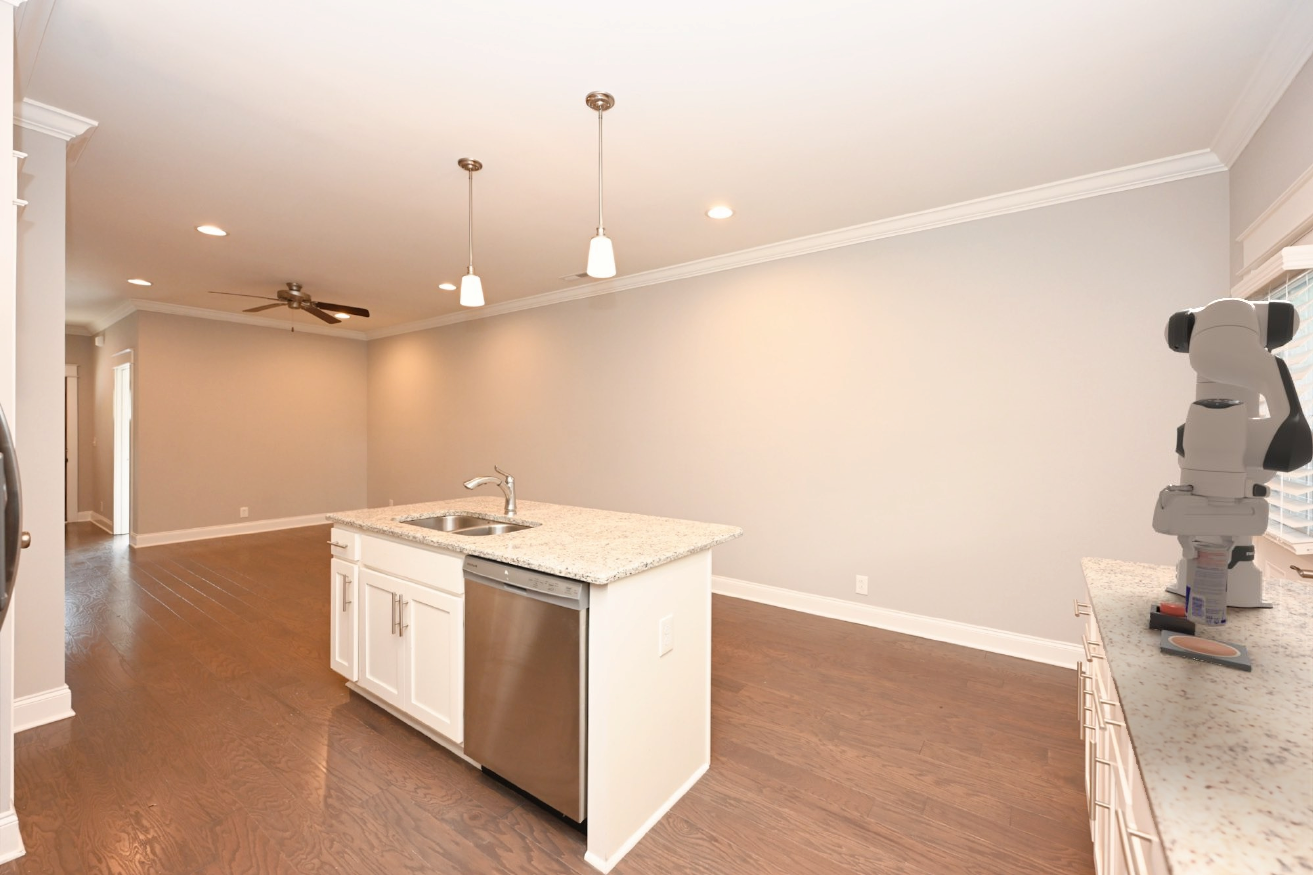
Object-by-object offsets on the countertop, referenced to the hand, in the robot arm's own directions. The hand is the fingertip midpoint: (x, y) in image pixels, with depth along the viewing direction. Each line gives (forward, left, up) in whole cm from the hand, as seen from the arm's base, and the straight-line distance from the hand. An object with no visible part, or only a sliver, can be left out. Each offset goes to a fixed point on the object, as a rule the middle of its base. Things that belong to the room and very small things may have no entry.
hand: (1206, 558), depth 109 cm
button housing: (-12, -4, -18) cm, 22 cm away
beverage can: (-1, 0, -13) cm, 13 cm away
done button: (-12, -4, -15) cm, 20 cm away
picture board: (0, 0, -18) cm, 18 cm away
